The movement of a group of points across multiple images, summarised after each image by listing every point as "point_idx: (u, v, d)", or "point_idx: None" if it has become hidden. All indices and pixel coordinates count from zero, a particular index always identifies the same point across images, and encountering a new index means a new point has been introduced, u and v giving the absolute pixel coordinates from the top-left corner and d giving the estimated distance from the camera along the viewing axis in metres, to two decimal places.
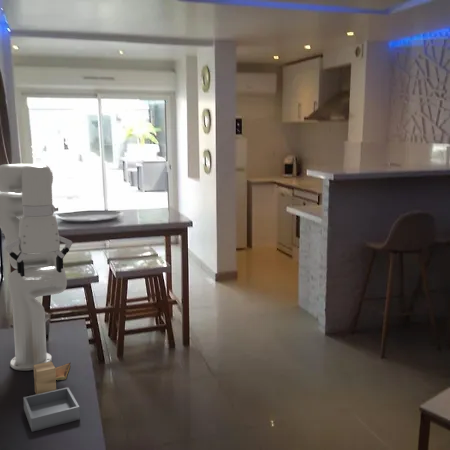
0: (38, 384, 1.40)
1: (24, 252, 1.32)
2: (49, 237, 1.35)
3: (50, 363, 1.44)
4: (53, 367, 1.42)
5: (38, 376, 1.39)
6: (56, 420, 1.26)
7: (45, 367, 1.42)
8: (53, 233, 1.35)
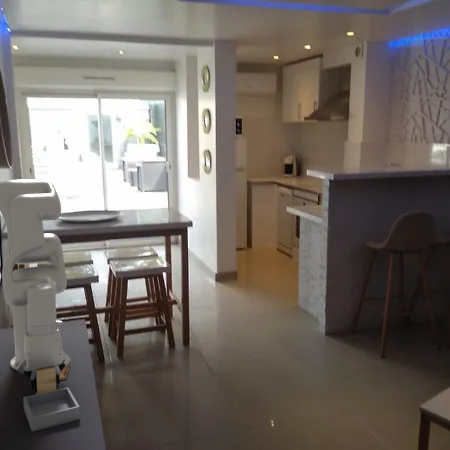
0: (38, 384, 1.40)
1: (29, 368, 1.38)
2: (53, 352, 1.41)
3: None
4: (53, 367, 1.42)
5: (38, 376, 1.39)
6: (56, 420, 1.26)
7: None
8: (57, 348, 1.41)
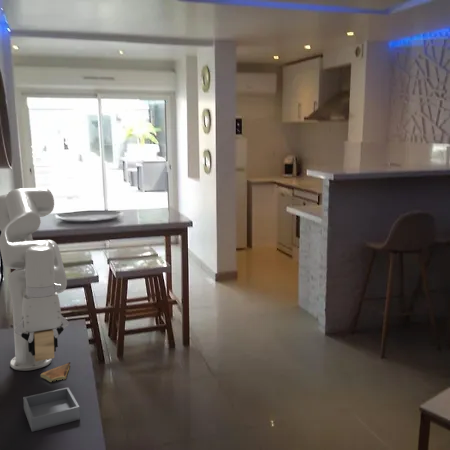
0: (36, 347, 1.38)
1: (27, 331, 1.37)
2: (51, 315, 1.39)
3: None
4: (51, 330, 1.40)
5: (36, 339, 1.38)
6: (56, 420, 1.26)
7: None
8: (55, 311, 1.40)
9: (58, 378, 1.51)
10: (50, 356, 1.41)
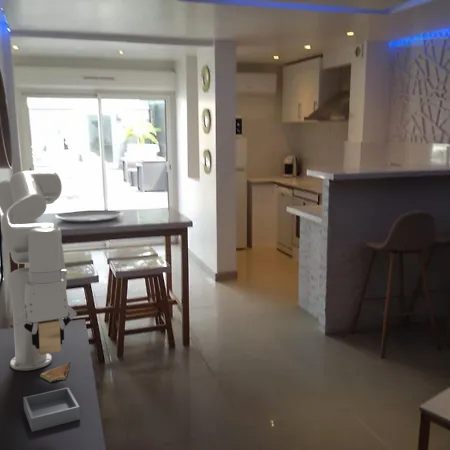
0: (40, 339, 1.25)
1: (31, 321, 1.24)
2: (57, 304, 1.26)
3: None
4: (57, 320, 1.27)
5: (40, 329, 1.25)
6: (56, 420, 1.26)
7: None
8: (61, 299, 1.27)
9: (58, 378, 1.51)
10: (56, 349, 1.28)
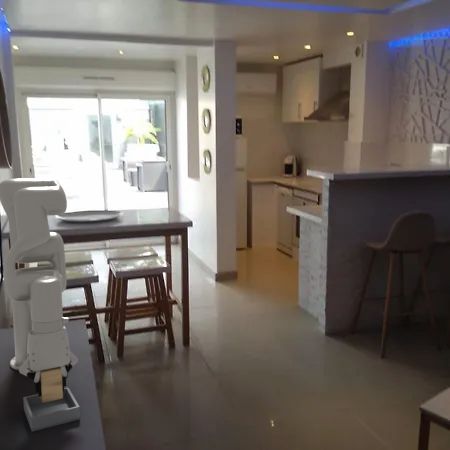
0: (43, 387, 1.27)
1: (33, 370, 1.26)
2: (59, 352, 1.28)
3: None
4: (59, 368, 1.29)
5: (43, 378, 1.27)
6: (56, 420, 1.26)
7: None
8: (63, 347, 1.29)
9: None
10: (58, 396, 1.29)
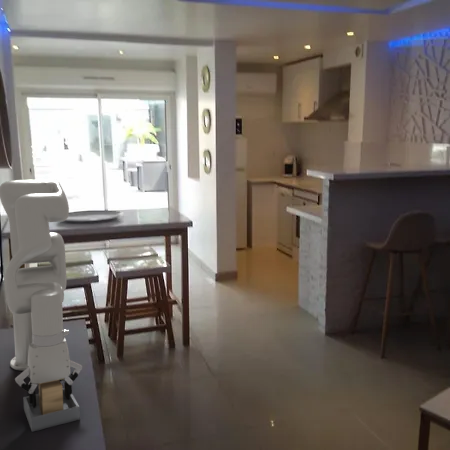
0: (44, 403, 1.28)
1: (34, 382, 1.26)
2: (60, 364, 1.29)
3: (56, 380, 1.33)
4: (60, 384, 1.30)
5: (44, 394, 1.28)
6: (56, 420, 1.26)
7: (51, 384, 1.30)
8: (64, 360, 1.29)
9: None
10: None
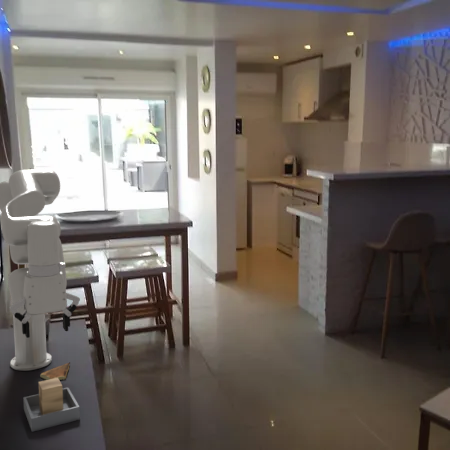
0: (44, 403, 1.28)
1: (29, 313, 1.26)
2: (56, 296, 1.28)
3: (56, 380, 1.33)
4: (60, 384, 1.30)
5: (44, 394, 1.28)
6: (56, 420, 1.26)
7: (51, 384, 1.30)
8: (60, 292, 1.28)
9: (58, 378, 1.51)
10: None
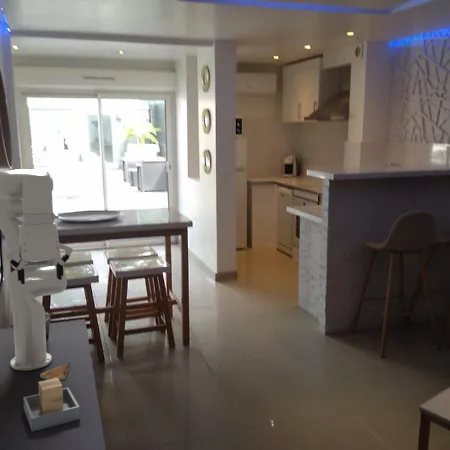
0: (44, 403, 1.28)
1: (24, 260, 1.33)
2: (49, 245, 1.35)
3: (56, 380, 1.33)
4: (60, 384, 1.30)
5: (44, 394, 1.28)
6: (56, 420, 1.26)
7: (51, 384, 1.30)
8: (53, 241, 1.36)
9: (58, 378, 1.51)
10: None
